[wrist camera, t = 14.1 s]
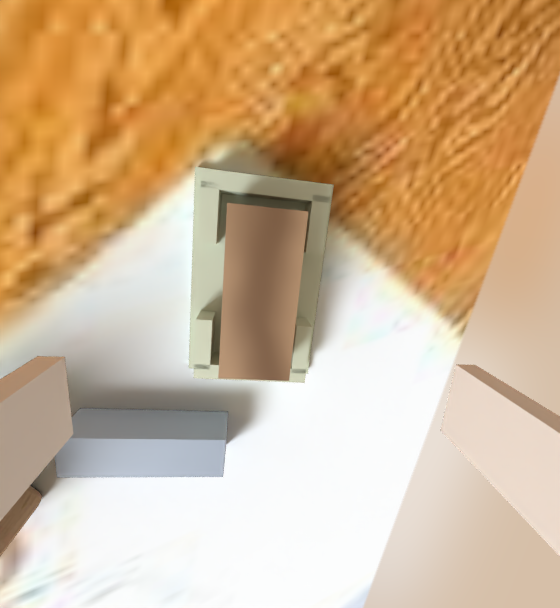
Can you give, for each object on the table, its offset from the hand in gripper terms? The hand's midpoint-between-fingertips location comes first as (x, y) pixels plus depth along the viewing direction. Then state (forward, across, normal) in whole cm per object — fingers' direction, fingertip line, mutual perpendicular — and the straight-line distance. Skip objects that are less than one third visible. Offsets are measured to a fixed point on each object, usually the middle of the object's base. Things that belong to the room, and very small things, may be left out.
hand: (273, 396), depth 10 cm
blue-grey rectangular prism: (+22, -10, -18) cm, 30 cm away
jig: (+22, 0, 0) cm, 22 cm away
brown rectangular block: (+21, 0, 0) cm, 21 cm away
